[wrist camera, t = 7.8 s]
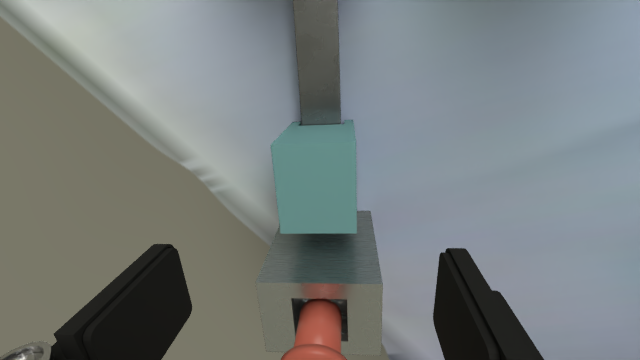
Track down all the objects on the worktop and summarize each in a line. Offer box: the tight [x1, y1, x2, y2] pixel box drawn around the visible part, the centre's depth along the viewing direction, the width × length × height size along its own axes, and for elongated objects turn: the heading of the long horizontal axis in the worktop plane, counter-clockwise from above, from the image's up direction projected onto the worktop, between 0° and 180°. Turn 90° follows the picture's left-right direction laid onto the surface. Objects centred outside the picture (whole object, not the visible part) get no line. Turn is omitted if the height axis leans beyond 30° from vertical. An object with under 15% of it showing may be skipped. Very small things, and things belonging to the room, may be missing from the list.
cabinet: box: [256, 211, 383, 356], centre depth 24 cm, size 8×6×10 cm
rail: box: [293, 0, 341, 126], centre depth 23 cm, size 3×22×2 cm, turn 3°
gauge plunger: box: [281, 299, 347, 360], centre depth 18 cm, size 4×4×5 cm
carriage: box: [271, 120, 357, 234], centre depth 22 cm, size 5×6×8 cm
